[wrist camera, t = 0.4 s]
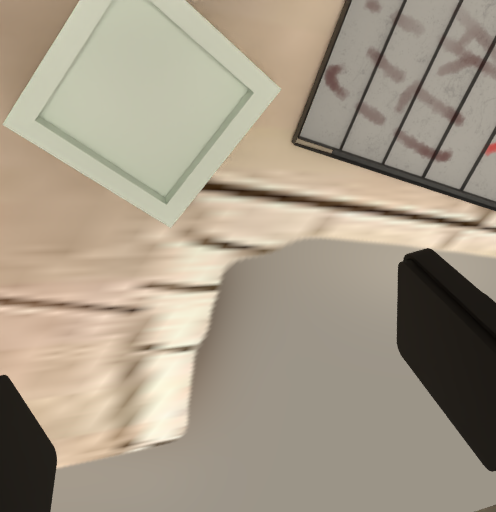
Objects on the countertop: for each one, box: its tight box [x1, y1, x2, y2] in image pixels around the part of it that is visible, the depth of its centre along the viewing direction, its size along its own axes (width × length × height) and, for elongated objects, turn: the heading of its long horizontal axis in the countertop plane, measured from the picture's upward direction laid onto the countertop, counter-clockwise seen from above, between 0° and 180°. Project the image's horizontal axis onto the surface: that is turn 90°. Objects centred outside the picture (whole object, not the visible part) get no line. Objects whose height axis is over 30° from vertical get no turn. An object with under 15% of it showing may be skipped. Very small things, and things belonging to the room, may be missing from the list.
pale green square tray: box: [2, 0, 281, 228], centre depth 34 cm, size 14×14×2 cm
